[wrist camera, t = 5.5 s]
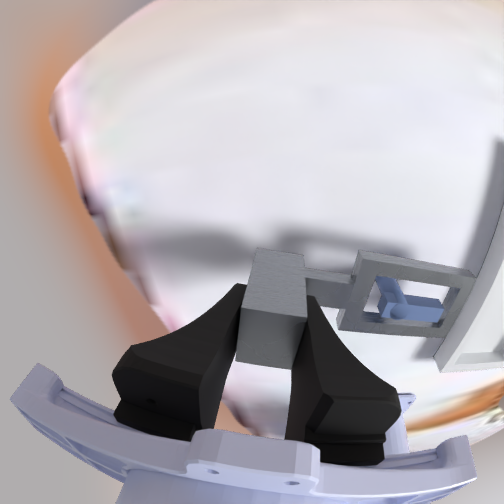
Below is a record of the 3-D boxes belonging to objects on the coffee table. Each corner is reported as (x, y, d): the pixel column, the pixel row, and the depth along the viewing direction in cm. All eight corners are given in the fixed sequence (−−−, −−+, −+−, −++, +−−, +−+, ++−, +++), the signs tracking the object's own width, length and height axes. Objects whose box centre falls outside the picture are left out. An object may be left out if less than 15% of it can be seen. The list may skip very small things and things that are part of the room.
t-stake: (415, 286, 17) (436, 323, 13) (365, 278, 17) (380, 318, 13) (421, 271, 16) (445, 307, 13) (371, 262, 17) (388, 300, 13)
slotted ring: (469, 270, 13) (509, 319, 9) (440, 328, 15) (466, 381, 11) (259, 233, 14) (243, 289, 9) (249, 306, 16) (234, 372, 12)
